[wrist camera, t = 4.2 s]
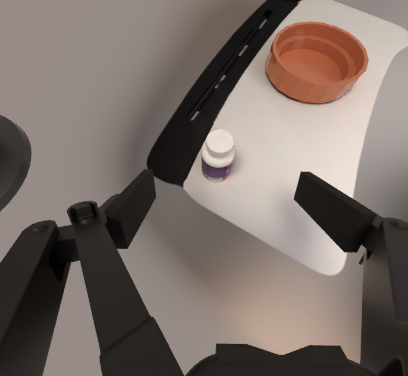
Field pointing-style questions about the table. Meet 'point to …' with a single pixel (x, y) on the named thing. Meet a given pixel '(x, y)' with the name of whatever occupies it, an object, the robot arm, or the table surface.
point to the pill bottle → (217, 155)
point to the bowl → (315, 61)
